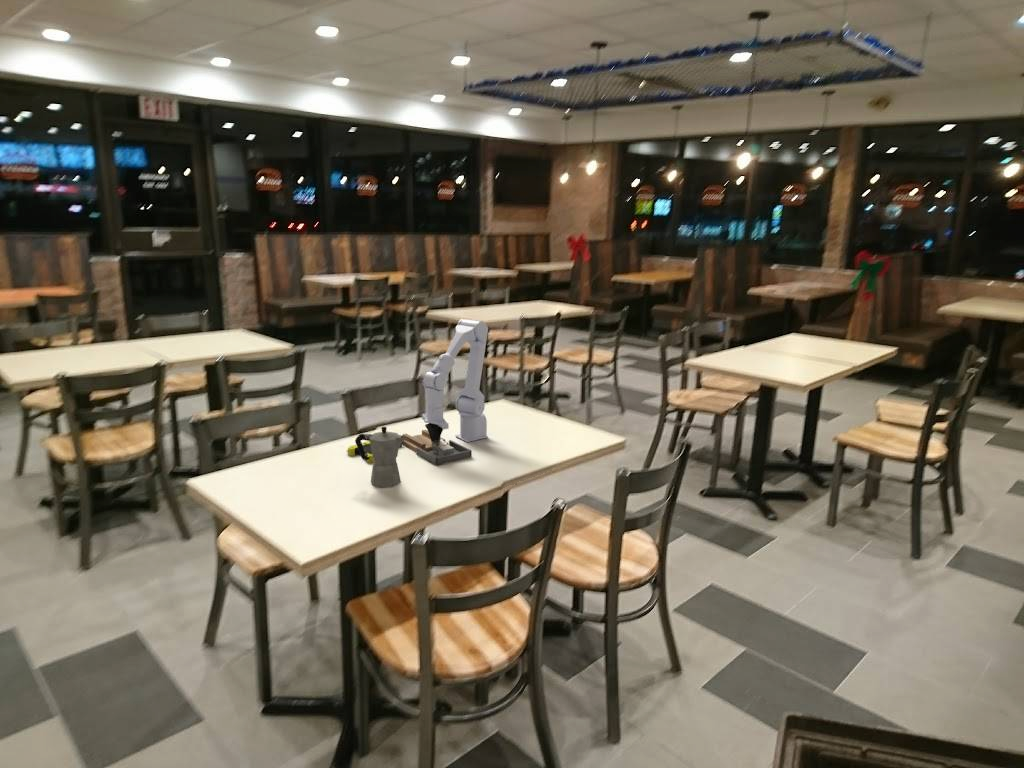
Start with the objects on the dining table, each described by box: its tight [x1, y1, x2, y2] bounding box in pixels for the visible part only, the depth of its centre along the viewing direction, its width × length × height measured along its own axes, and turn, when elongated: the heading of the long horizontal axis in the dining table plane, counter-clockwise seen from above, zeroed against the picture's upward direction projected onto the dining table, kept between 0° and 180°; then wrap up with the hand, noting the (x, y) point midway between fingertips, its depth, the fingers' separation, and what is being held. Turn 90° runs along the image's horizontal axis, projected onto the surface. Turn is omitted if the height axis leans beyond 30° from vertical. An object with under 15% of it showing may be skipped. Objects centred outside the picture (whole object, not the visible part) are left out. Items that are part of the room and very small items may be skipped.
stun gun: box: [346, 441, 403, 464], centre depth 231 cm, size 3×19×15 cm
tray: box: [415, 439, 473, 466], centre depth 229 cm, size 14×13×2 cm
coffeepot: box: [354, 426, 406, 489], centre depth 203 cm, size 15×9×18 cm, turn 90°
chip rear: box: [431, 439, 449, 454], centre depth 230 cm, size 4×4×3 cm
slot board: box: [402, 429, 449, 453], centre depth 239 cm, size 12×14×3 cm
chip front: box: [438, 444, 454, 457], centre depth 227 cm, size 4×4×3 cm
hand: (435, 443), depth 232 cm, fingers closed
